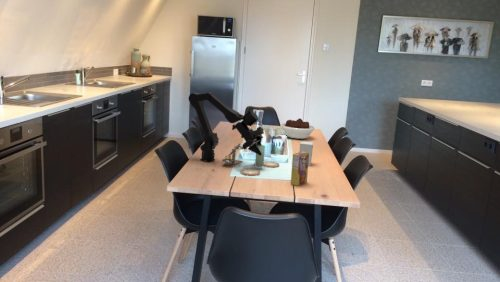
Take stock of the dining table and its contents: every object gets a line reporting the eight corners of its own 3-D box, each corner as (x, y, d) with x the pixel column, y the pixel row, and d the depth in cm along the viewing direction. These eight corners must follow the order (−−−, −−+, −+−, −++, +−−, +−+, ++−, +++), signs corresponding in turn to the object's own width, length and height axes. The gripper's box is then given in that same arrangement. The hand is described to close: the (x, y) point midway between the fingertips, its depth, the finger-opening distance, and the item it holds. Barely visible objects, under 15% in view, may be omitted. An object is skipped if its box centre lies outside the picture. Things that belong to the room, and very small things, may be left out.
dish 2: (258, 165, 233) (258, 163, 232) (265, 161, 241) (266, 160, 241) (275, 168, 228) (275, 167, 228) (281, 164, 237) (282, 163, 237)
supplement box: (310, 166, 239) (312, 144, 236) (297, 164, 240) (299, 143, 237) (311, 163, 246) (313, 142, 243) (298, 161, 247) (300, 141, 245)
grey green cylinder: (253, 165, 225) (255, 145, 222) (257, 163, 229) (258, 144, 226) (261, 167, 223) (262, 147, 220) (264, 165, 227) (266, 145, 224)
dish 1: (237, 173, 214) (237, 171, 214) (245, 169, 223) (246, 167, 223) (254, 177, 210) (254, 175, 210) (262, 172, 219) (263, 171, 218)
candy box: (299, 180, 209) (302, 151, 206) (307, 182, 206) (310, 152, 203) (289, 184, 202) (292, 153, 199) (297, 186, 199) (300, 155, 196)
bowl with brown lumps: (315, 142, 308) (317, 122, 305) (281, 140, 308) (283, 120, 305) (310, 136, 333) (312, 117, 330) (279, 133, 333) (281, 115, 330)
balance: (219, 166, 225) (220, 147, 223) (236, 159, 242) (237, 141, 240) (229, 168, 223) (230, 149, 221) (245, 161, 240) (246, 143, 238)
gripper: (249, 124, 214) (268, 148, 212) (261, 120, 231) (278, 142, 230) (234, 137, 218) (252, 161, 216) (246, 132, 235) (263, 154, 234)
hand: (262, 154), depth 224 cm, fingers closed on grey green cylinder, 4 cm apart
